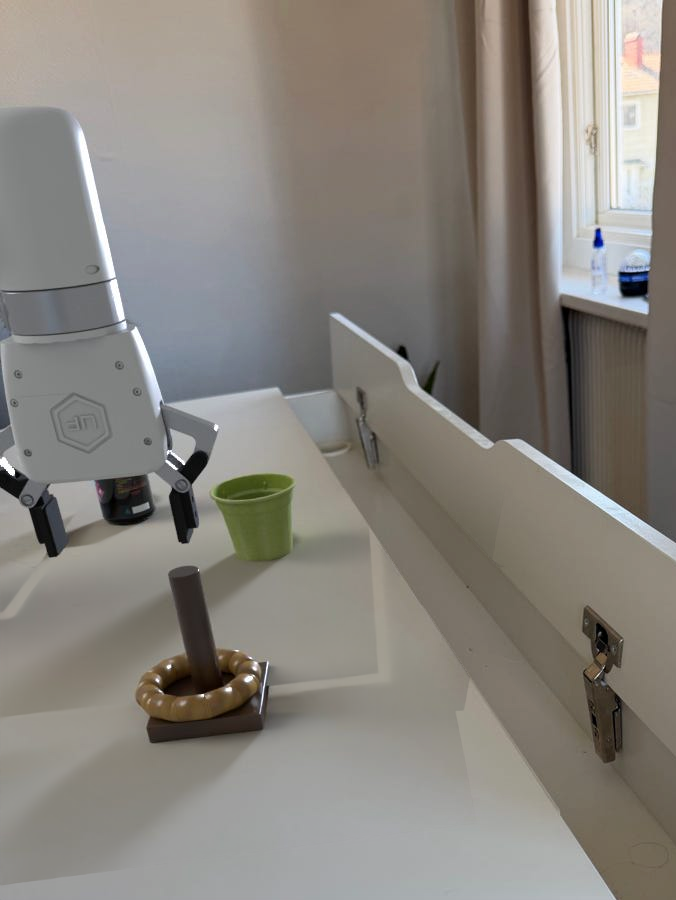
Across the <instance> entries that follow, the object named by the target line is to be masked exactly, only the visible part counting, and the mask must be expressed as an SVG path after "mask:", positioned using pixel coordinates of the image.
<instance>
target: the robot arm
mask: <svg viewBox="0 0 676 900" xmlns="http://www.w3.org/2000/svg"><path fill="white" fill-rule="evenodd" d="M0 323H3V325H4V326H5V329H6V332H10V336H9V337H6V338H4V339H2V340H1V341H0V363H1V373H2V379H3V380H2V382H3V387H4V394H5V401H6V406H7V412H8V418H9V422H10V424H8V426H6V427H4V428H3V429H1V430H0V489H2V490H3V491H5V492H6V493H7V494H9V495H11V496H12V497H14V498H15V499H17V500H18V503H19V504H20V505H21V506H22V507H24V508H25V509H26V508H27V509H28V512H29V515H30V518H31V522H32V525H33V529H34V533H35V536H36V540H37V542H38V544H40V545H44V547H45V550H46V554H47V556H48V557H49V558H57V557H58V556H60V555H61V554H62V552H63V550H64V549H65V548H66V546H67V545H68V543H69V539H68V535H67V531H66V528H65V524H64V520H63V516H62V513H61V510H60V506H59V502H58V499H57V497H56V496H54V494H53V493H50V491H49V488H50V486H51V485H54V484H56V485H57V484H68V483H81V482H89V481H94V480H101V479H111V478H121V477H130V476H139V475H145V474H148V475H149V474H152V473H154V474H156V475H157V476H158V477H159V478H160V479H162V480H163V481H164V482H165V483H167V484H168V485H169V486H170V488H171V490H170V492H169V494H168V501H169V506H170V510H171V515H172V520H173V523H174V524H173V525H174V528H175V533H176V538H177V542H178V543H180V544H181V545H185V544H189V543H190V542H191V539H192V536H193V534H194V530H195V529H198V528H199V526H200V518H199V517H200V516H199V512H198V508H197V503H196V499H195V498H196V497H195V493H194V489H193V488H194V487H193V484H194V483H195V481H196V480H197V479H198V477H199V476H200V475H201V474H202V473H203V471H204V470H205V469H206V467H207V466H208V465H209V461H210V459H211V455H212V454H213V449H214V446H215V444H216V441H217V438H218V434H219V430H220V429H219V426H218V425H217V423H214V422H212V421H209V420H207V419H204V418H202V417H198V416H196V415H193V414H192V413H191V414H190V413H188V412H186V411H182V410H181V409H178V408H175V407H172V406H170V405H167V404H165V402H164V399H163V395H162V393H161V388H160V386H159V383H158V380H157V377H156V373H155V370H154V366H153V365H152V362H151V359H150V356H149V354H148V353H149V352H148V350H147V348H146V345H145V344H144V340H143V338H142V336H141V334H140V332H139V330H138V328H137V325H135V324H133V323H127V320H126V317H125V312H124V308H123V302H122V298H121V294H120V290H119V285H118V280H117V278H116V272H115V268H114V264H113V258H112V253H111V249H110V245H109V240H108V236H107V230H106V226H105V223H104V219H103V214H102V209H101V205H100V200H99V196H98V191H97V185H96V183H95V178H94V172H93V169H92V163H91V160H90V155H89V150H88V146H87V142H86V137H85V134H84V131H83V129H82V126H81V124H80V123H79V121H78V120H77V119H76V117H75V116H74V115H73V114H72V113H71V112H69V111H68V110H66V109H62V108H60V107H53V106H14V107H13V106H11V107H0ZM172 430H173V431H175V432H178V433H181V434H183V435H187V436H189V437H192V438H193V440H194V441H195V445H194V448H193V452H192V453H191V455H190V456H189V457H188V459H187V460H186V461H185V460H183V459H181V458H180V457H179V456H178V455H177V454H175V453H174V452H173V451H172V450H173V444H174V443H173V434H172ZM13 446H15V451H16V454H17V458H18V461H19V465H20V467H21V470H22V471H20V470H18V469H17V468H15V467H14V466H11V465H10V464H9V463H8V460H7V459H6V458H5V456H4V453H5V452H6V451H7V450H9V449H11V448H12V447H13Z"/></svg>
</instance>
